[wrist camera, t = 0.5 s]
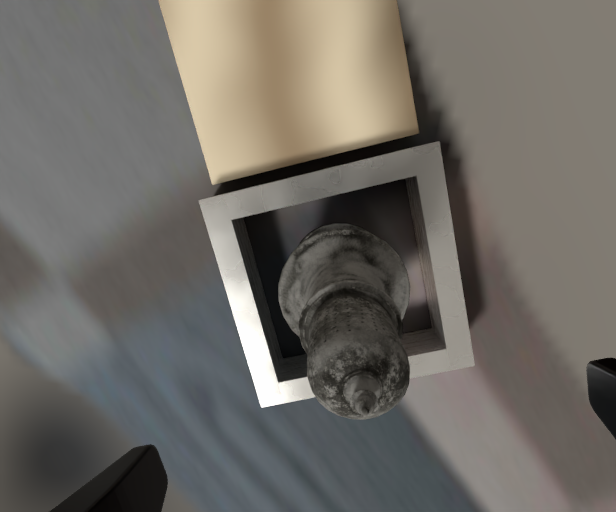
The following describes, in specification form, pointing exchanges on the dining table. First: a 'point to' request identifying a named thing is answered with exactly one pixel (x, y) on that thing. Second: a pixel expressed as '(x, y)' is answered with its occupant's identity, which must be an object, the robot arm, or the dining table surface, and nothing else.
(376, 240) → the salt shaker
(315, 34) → the wooden square board
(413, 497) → the dining table surface
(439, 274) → the grey square frame
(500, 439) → the dining table surface
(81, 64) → the dining table surface
